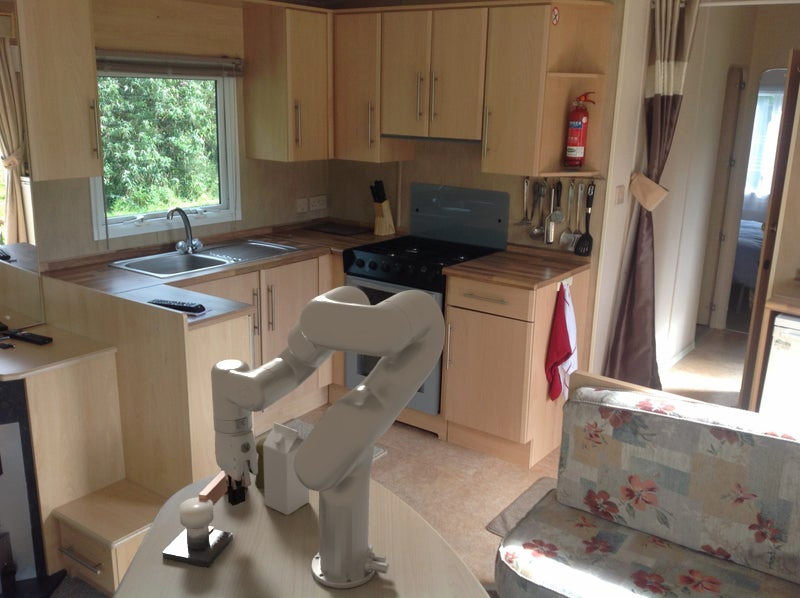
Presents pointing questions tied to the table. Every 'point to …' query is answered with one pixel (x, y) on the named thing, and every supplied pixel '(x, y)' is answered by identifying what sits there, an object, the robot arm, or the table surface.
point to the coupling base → (198, 554)
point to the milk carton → (282, 471)
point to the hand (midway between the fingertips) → (237, 502)
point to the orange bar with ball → (203, 503)
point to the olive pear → (260, 464)
